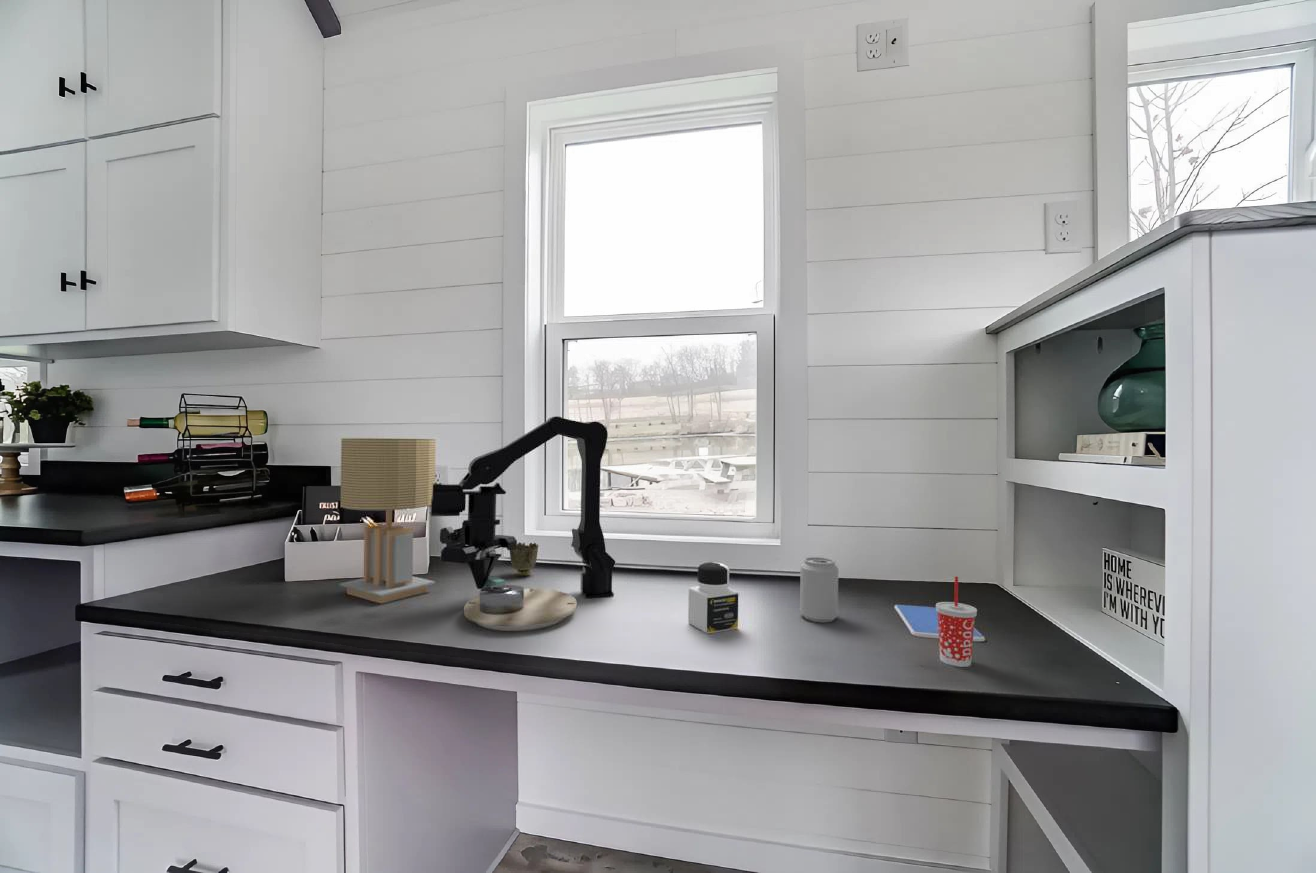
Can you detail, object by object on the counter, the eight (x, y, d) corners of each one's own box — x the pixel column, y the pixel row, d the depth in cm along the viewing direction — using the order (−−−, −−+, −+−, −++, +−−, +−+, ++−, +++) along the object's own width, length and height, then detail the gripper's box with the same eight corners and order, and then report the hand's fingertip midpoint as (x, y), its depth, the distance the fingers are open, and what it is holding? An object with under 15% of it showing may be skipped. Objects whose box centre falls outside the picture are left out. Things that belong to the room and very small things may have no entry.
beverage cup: (947, 668, 91) (948, 581, 91) (927, 654, 97) (928, 572, 97) (984, 668, 92) (986, 581, 92) (962, 654, 98) (963, 572, 98)
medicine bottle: (707, 634, 106) (707, 569, 106) (687, 623, 112) (688, 562, 112) (738, 629, 109) (739, 566, 109) (717, 618, 115) (718, 559, 115)
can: (840, 615, 118) (840, 557, 118) (835, 625, 111) (835, 564, 111) (803, 610, 121) (804, 553, 121) (796, 620, 115) (797, 560, 115)
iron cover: (527, 601, 116) (528, 582, 116) (518, 614, 108) (518, 593, 108) (486, 601, 116) (486, 582, 116) (473, 614, 108) (474, 593, 108)
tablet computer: (893, 609, 125) (893, 603, 125) (956, 613, 122) (956, 607, 122) (912, 639, 106) (912, 632, 106) (986, 645, 103) (986, 637, 103)
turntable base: (560, 600, 126) (560, 593, 126) (573, 626, 109) (573, 618, 109) (474, 606, 121) (474, 599, 121) (474, 634, 104) (474, 627, 104)
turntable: (582, 593, 126) (582, 575, 126) (568, 626, 104) (569, 604, 104) (482, 593, 126) (482, 574, 126) (447, 626, 104) (448, 604, 104)
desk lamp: (451, 590, 133) (453, 439, 133) (371, 610, 117) (373, 439, 117) (401, 578, 144) (403, 438, 144) (321, 595, 127) (323, 438, 127)
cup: (541, 572, 152) (542, 542, 152) (532, 579, 144) (533, 547, 144) (514, 571, 152) (514, 541, 152) (504, 578, 145) (504, 546, 145)
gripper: (478, 509, 133) (476, 575, 133) (419, 517, 116) (417, 594, 115) (519, 511, 130) (517, 580, 129) (465, 521, 112) (463, 601, 112)
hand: (480, 588), depth 122 cm, fingers closed
